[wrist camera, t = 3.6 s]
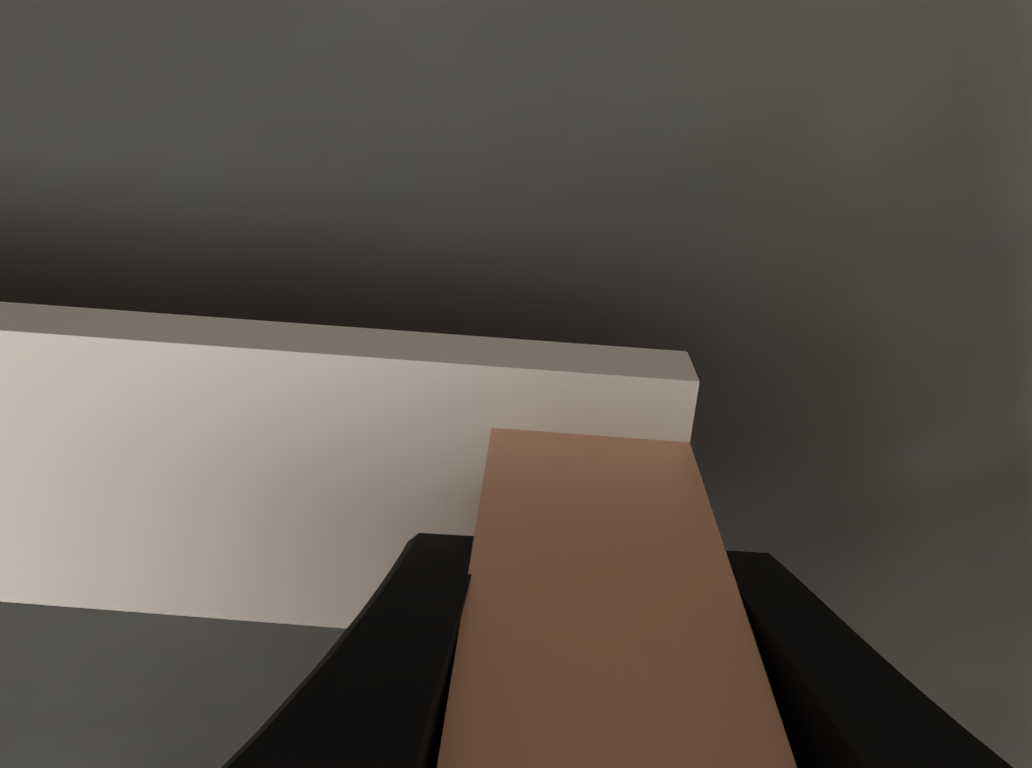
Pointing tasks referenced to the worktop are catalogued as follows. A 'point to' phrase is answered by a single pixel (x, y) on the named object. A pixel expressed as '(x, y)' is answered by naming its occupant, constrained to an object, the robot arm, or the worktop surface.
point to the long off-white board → (396, 513)
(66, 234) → the worktop surface
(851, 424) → the worktop surface
